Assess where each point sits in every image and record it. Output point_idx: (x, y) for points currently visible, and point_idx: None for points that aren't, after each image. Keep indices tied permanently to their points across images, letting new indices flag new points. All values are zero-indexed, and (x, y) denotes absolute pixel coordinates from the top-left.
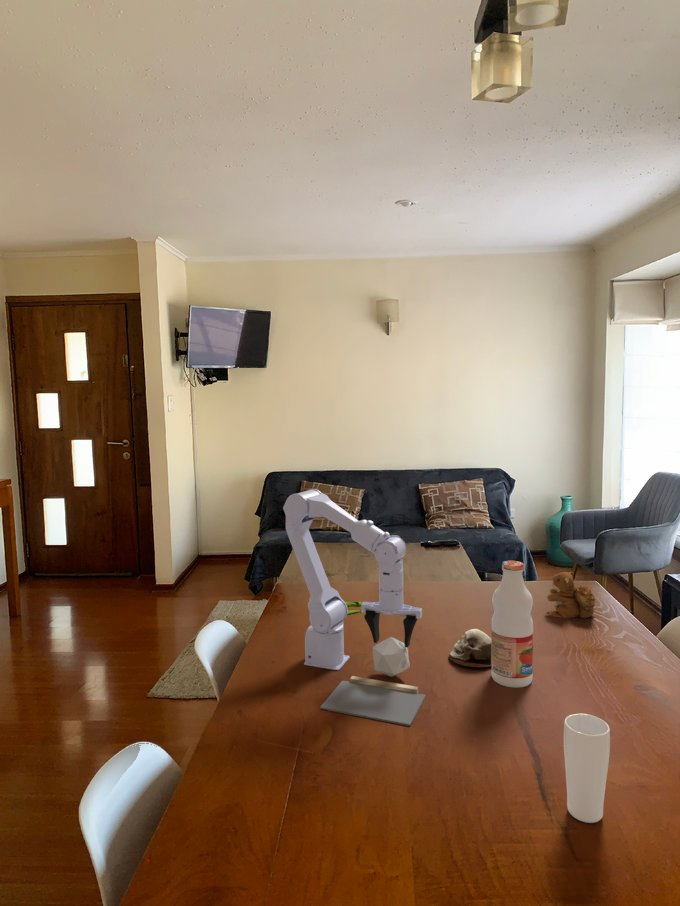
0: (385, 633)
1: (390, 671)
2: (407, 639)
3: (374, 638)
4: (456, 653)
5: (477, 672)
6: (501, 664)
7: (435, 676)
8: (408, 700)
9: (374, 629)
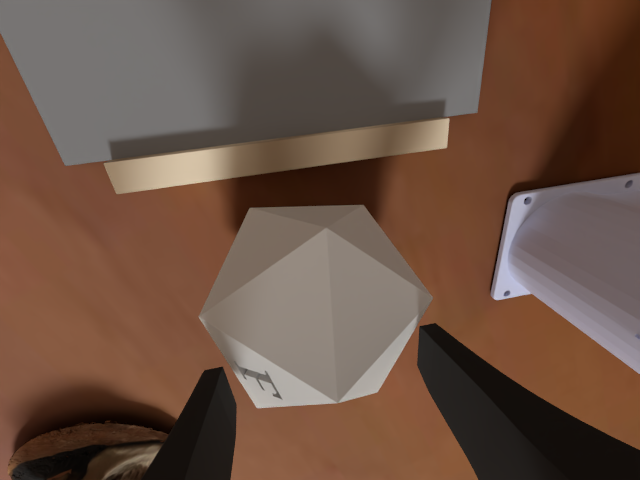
0: (425, 450)
1: (273, 208)
2: (175, 427)
3: (448, 343)
4: (143, 465)
5: (42, 416)
6: None
7: (152, 329)
8: (97, 63)
9: (497, 405)
